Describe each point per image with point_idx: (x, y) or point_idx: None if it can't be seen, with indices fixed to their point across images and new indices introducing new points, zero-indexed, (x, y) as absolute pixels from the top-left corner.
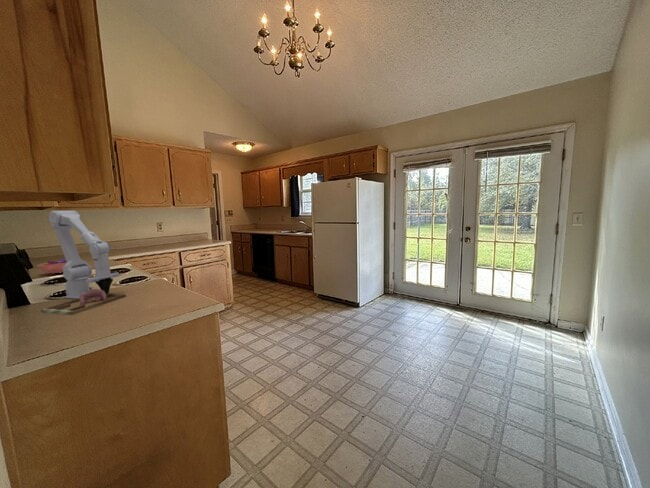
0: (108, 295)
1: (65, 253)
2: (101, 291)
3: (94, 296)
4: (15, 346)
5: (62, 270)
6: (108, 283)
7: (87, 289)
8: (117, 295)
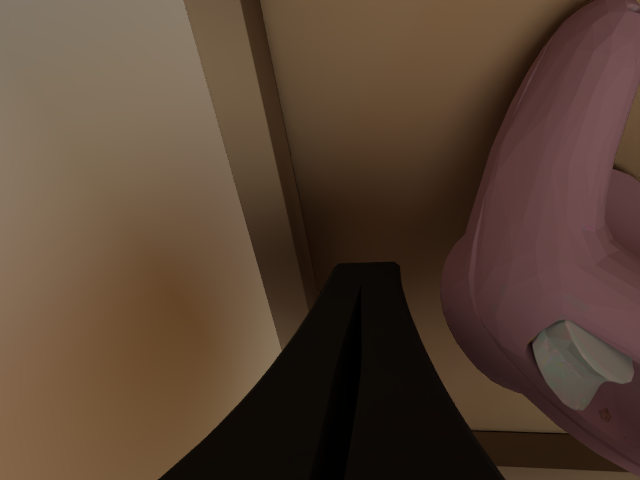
0: (310, 280)
1: None
2: (607, 282)
3: None
4: None
5: None
6: (303, 471)
7: None
8: (261, 59)
